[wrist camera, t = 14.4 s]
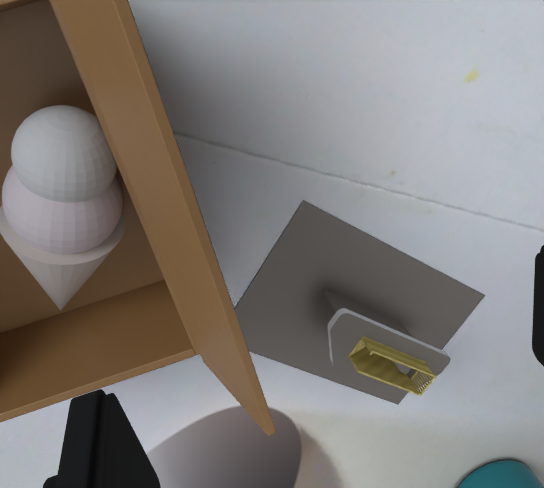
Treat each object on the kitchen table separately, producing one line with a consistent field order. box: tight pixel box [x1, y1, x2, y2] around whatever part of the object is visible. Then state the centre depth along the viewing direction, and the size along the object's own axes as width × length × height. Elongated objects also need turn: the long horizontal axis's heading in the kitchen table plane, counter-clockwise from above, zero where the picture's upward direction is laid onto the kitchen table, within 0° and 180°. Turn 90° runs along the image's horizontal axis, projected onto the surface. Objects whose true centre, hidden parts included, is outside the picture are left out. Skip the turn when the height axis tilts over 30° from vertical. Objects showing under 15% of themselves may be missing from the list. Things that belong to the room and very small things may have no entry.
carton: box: [0, 0, 200, 422], centre depth 26 cm, size 18×13×8 cm
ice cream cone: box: [0, 105, 125, 311], centre depth 27 cm, size 6×6×15 cm
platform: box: [234, 200, 485, 404], centre depth 36 cm, size 12×18×7 cm, turn 58°
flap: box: [56, 0, 276, 436], centre depth 19 cm, size 18×6×1 cm
